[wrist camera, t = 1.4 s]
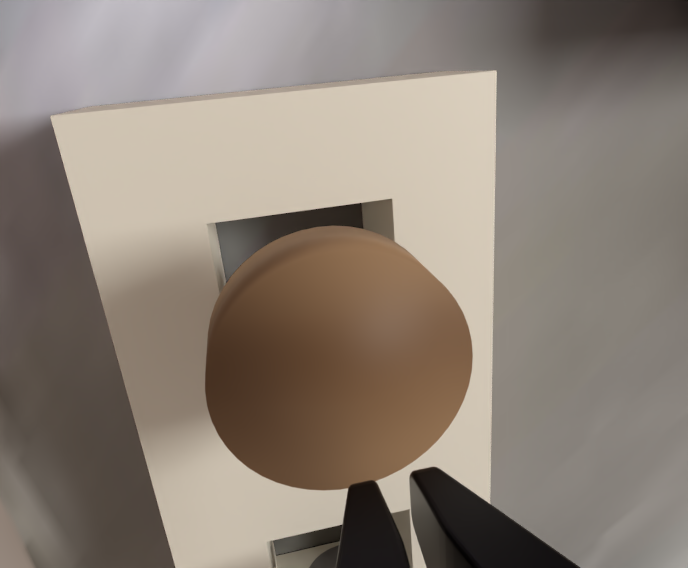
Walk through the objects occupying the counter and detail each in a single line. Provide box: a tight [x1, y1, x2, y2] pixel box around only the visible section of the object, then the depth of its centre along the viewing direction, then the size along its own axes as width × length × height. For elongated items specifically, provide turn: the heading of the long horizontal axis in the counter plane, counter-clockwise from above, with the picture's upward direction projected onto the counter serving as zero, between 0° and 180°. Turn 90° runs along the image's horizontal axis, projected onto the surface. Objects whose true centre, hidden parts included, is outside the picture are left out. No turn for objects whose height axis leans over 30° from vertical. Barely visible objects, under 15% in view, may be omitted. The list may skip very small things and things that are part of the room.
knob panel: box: [50, 71, 497, 568], centre depth 19 cm, size 22×11×4 cm, turn 5°
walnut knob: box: [205, 226, 473, 491], centre depth 13 cm, size 6×6×5 cm
